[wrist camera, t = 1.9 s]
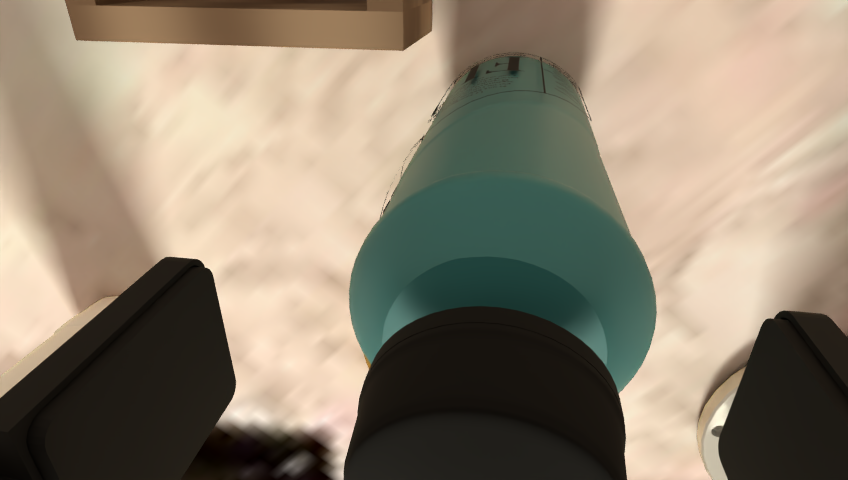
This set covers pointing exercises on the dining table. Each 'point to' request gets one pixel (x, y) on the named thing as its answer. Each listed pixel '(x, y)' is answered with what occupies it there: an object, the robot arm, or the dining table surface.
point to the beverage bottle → (500, 295)
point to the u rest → (255, 22)
